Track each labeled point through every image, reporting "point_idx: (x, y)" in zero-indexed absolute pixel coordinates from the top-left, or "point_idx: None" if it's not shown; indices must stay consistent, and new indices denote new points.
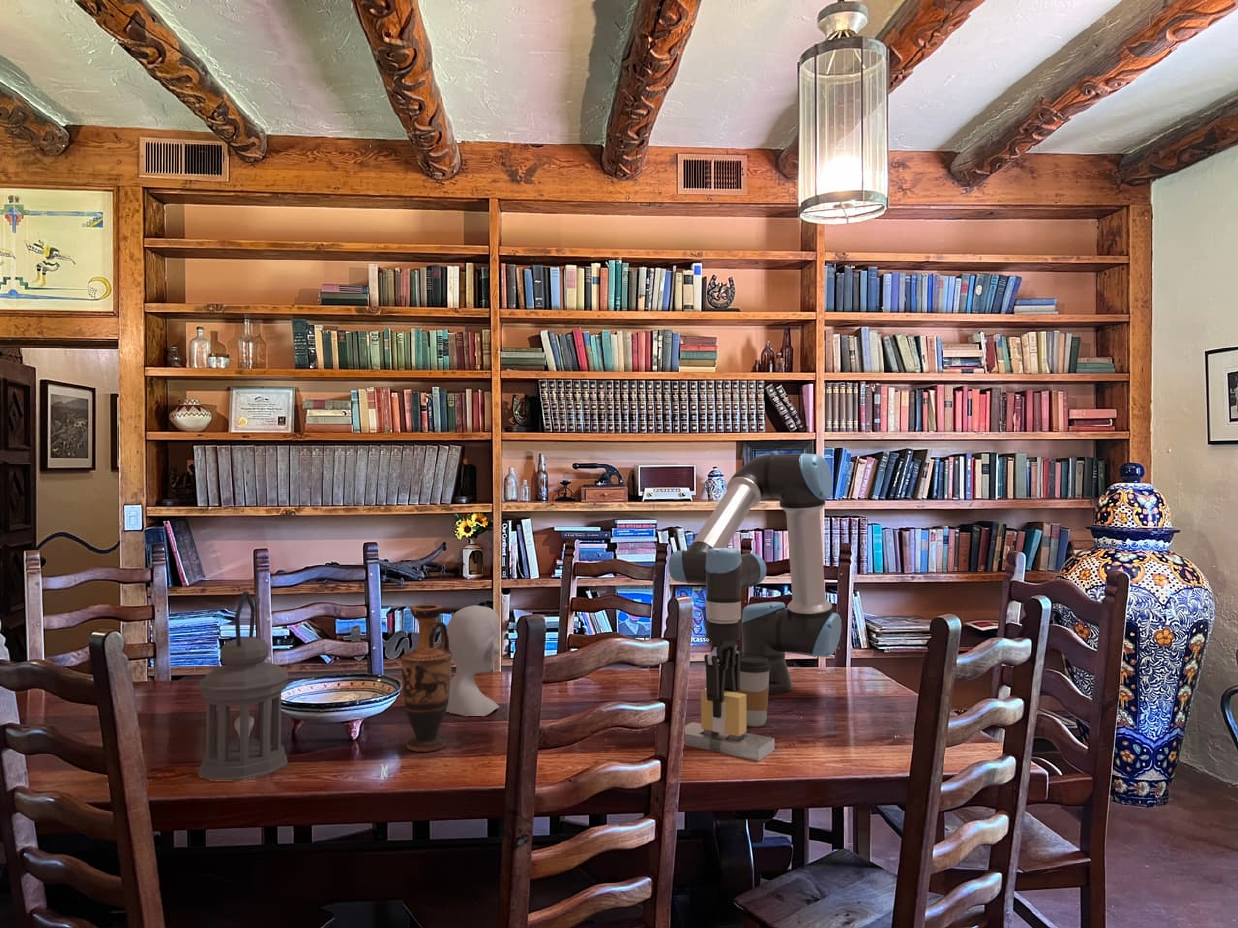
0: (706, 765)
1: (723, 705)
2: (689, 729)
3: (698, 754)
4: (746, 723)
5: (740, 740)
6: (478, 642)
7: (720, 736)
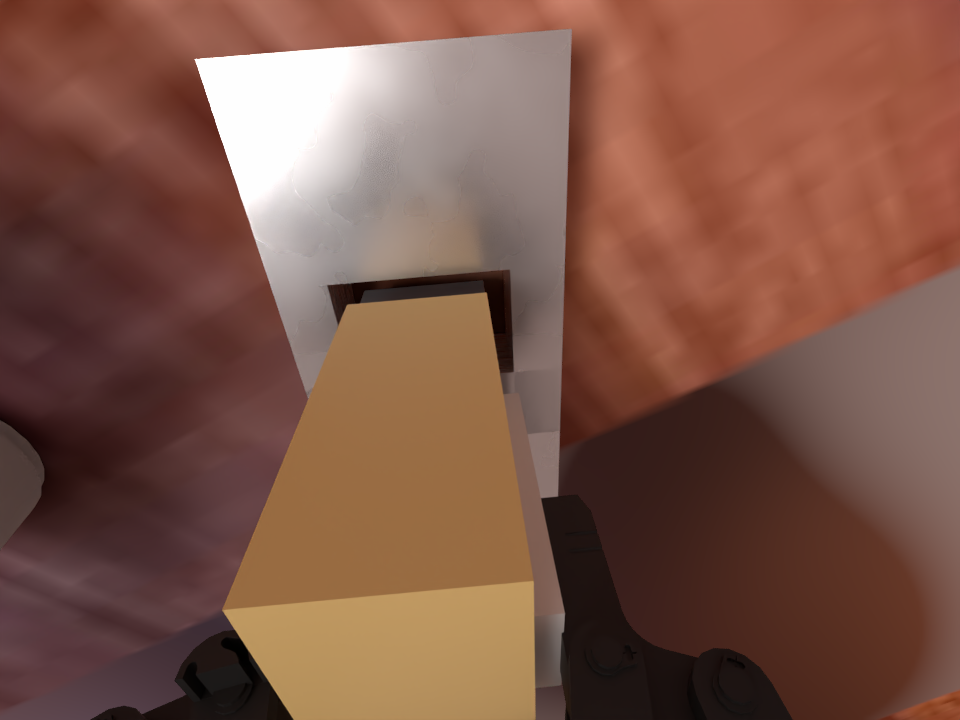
0: (783, 281)
1: (558, 583)
2: None
3: (633, 395)
4: (28, 460)
5: (417, 295)
6: None
7: None
